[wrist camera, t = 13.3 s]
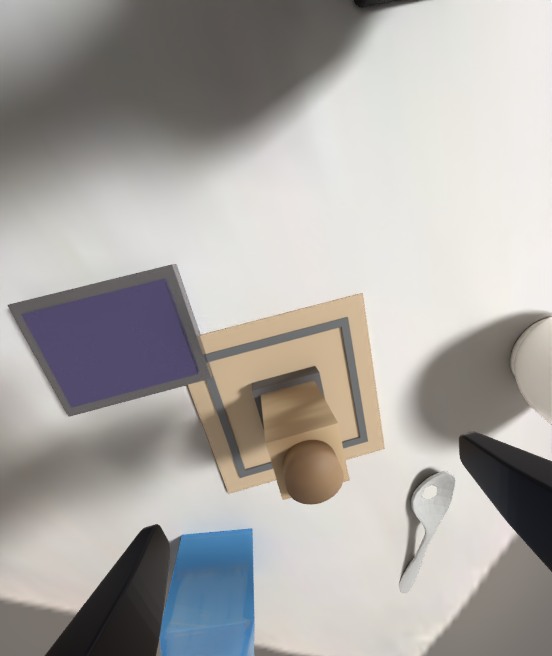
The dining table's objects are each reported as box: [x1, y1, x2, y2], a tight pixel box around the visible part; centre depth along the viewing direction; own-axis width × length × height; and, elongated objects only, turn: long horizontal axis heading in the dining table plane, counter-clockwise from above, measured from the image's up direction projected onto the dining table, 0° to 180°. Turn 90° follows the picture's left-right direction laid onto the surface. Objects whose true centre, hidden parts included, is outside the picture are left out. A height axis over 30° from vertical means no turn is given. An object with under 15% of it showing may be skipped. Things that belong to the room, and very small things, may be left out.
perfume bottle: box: [160, 529, 254, 656], centre depth 18 cm, size 6×6×12 cm
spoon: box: [399, 471, 455, 593], centre depth 26 cm, size 4×21×2 cm, turn 177°
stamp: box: [252, 366, 349, 504], centre depth 16 cm, size 5×5×7 cm
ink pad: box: [8, 264, 212, 416], centre depth 17 cm, size 10×8×1 cm
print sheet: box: [188, 293, 385, 494], centre depth 20 cm, size 14×14×1 cm
